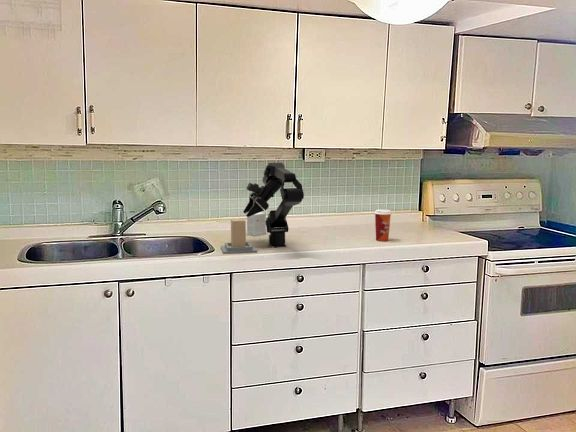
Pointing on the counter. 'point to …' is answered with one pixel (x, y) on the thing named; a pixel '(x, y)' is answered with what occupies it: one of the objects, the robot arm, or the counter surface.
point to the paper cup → (382, 224)
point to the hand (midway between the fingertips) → (245, 214)
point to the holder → (238, 249)
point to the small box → (256, 224)
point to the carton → (238, 233)
